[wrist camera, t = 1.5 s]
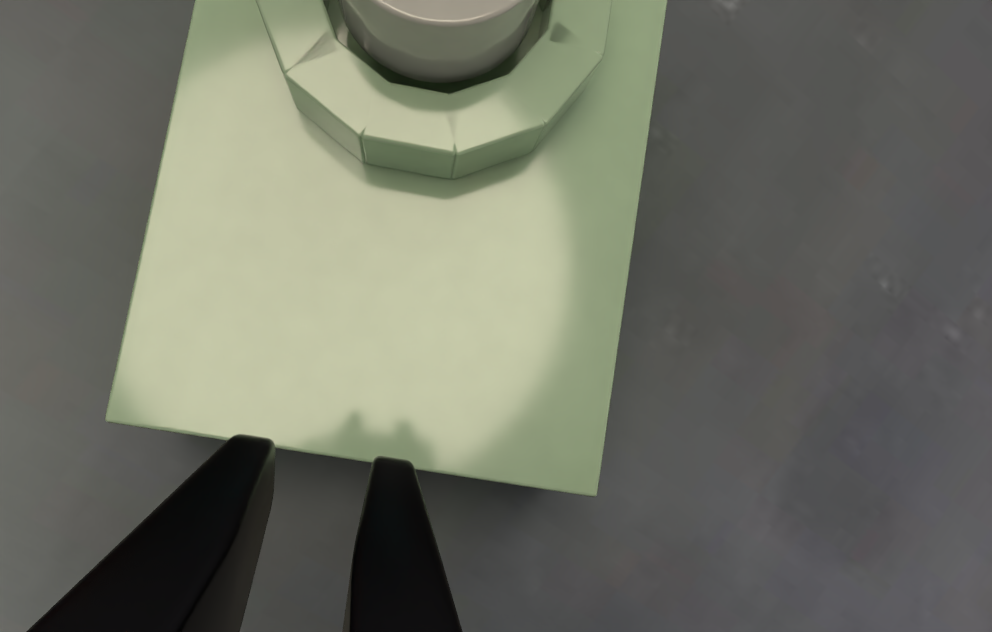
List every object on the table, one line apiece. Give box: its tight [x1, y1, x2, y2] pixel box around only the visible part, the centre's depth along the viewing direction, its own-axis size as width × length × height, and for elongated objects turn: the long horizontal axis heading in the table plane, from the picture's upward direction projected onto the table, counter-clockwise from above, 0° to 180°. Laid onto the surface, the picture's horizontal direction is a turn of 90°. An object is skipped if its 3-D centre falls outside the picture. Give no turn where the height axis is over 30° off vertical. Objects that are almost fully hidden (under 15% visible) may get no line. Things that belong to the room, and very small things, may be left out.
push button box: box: [105, 0, 667, 497], centre depth 19 cm, size 13×10×7 cm
